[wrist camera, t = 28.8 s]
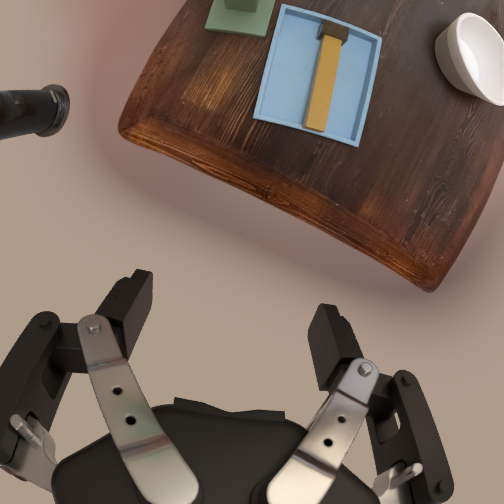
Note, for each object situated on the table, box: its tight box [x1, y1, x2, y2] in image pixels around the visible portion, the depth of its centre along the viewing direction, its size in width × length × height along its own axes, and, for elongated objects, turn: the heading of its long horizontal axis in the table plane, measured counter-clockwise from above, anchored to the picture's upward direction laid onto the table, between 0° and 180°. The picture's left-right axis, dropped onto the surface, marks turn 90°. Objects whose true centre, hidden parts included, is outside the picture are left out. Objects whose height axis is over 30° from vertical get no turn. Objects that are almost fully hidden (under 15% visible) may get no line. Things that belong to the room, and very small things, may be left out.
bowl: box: [435, 13, 504, 106], centre depth 27 cm, size 19×19×11 cm
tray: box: [253, 4, 382, 147], centre depth 36 cm, size 18×22×3 cm
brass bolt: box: [302, 19, 349, 133], centre depth 34 cm, size 4×20×3 cm, turn 168°
